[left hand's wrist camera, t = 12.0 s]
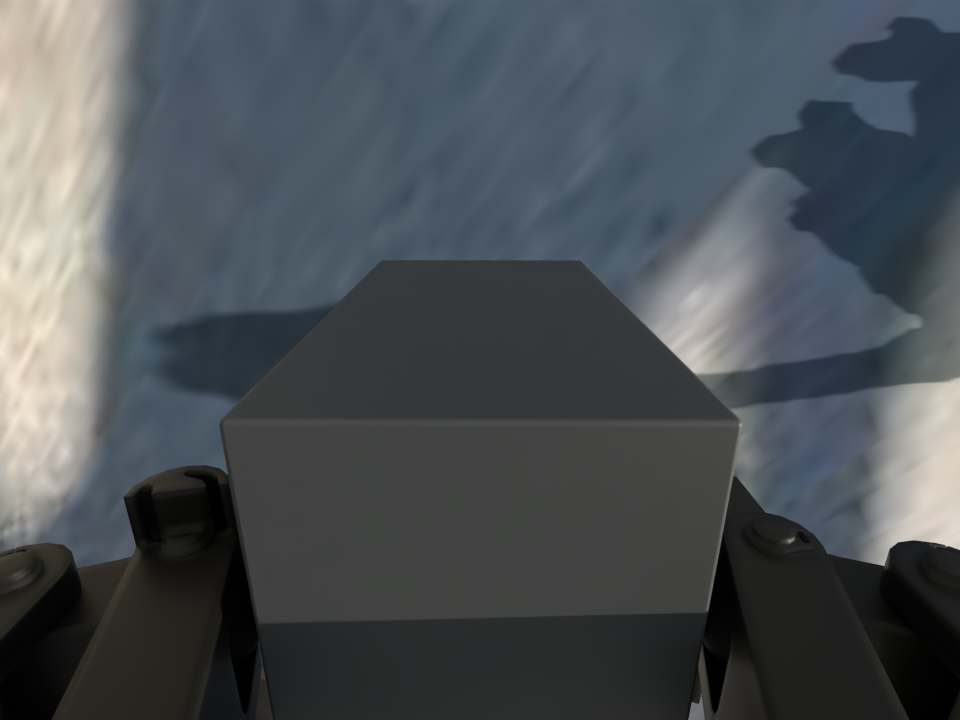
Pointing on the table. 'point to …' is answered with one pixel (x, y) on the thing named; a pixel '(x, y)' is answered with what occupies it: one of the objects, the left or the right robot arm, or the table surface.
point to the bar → (480, 502)
